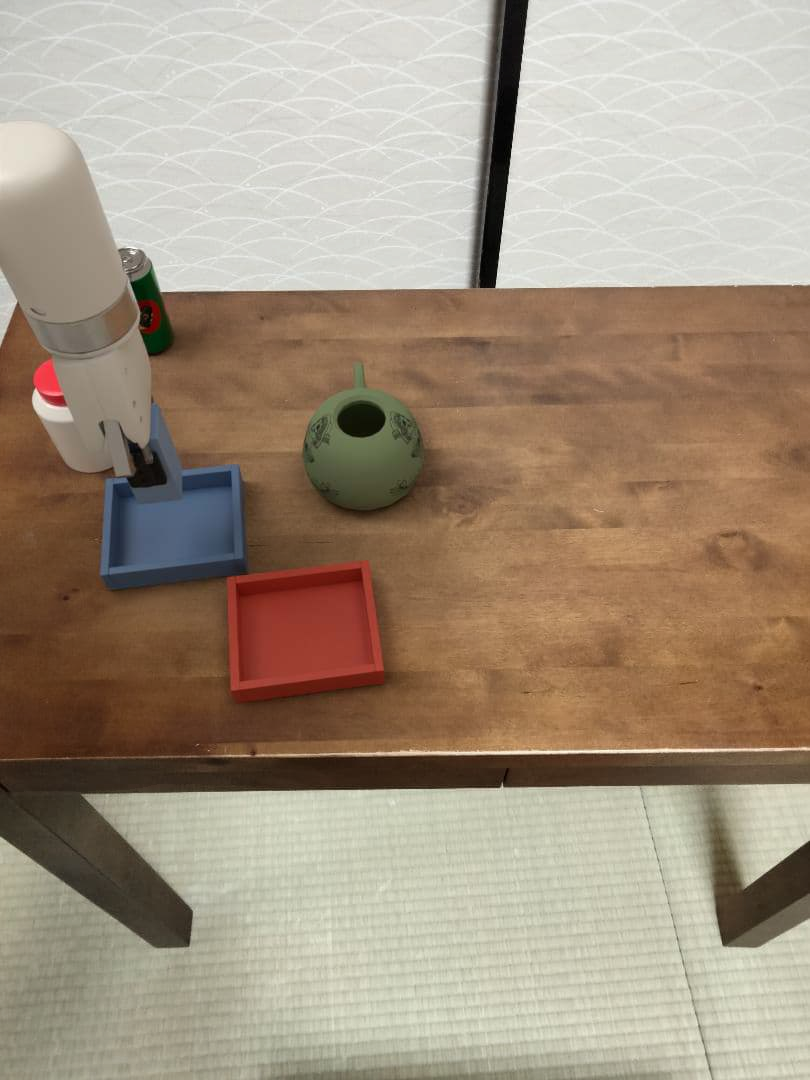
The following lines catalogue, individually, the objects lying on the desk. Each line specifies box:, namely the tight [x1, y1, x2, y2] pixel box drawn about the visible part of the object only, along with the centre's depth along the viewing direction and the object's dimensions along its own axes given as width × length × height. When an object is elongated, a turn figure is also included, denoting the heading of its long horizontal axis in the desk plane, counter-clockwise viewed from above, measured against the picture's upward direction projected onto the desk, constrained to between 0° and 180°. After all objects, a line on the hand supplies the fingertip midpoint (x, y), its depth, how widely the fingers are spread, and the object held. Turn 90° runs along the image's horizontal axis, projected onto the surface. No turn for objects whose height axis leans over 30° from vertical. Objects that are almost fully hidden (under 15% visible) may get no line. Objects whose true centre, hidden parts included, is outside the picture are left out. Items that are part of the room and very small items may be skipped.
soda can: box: [117, 246, 175, 354], centre depth 93 cm, size 5×5×12 cm
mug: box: [301, 361, 426, 511], centre depth 85 cm, size 16×13×9 cm
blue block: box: [126, 403, 183, 505], centre depth 73 cm, size 4×4×9 cm
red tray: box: [226, 559, 386, 704], centre depth 76 cm, size 14×12×3 cm
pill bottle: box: [31, 358, 114, 474], centre depth 85 cm, size 8×8×11 cm
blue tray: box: [99, 463, 249, 591], centre depth 83 cm, size 14×12×3 cm
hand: (149, 461), depth 74 cm, fingers closed on blue block, 4 cm apart
